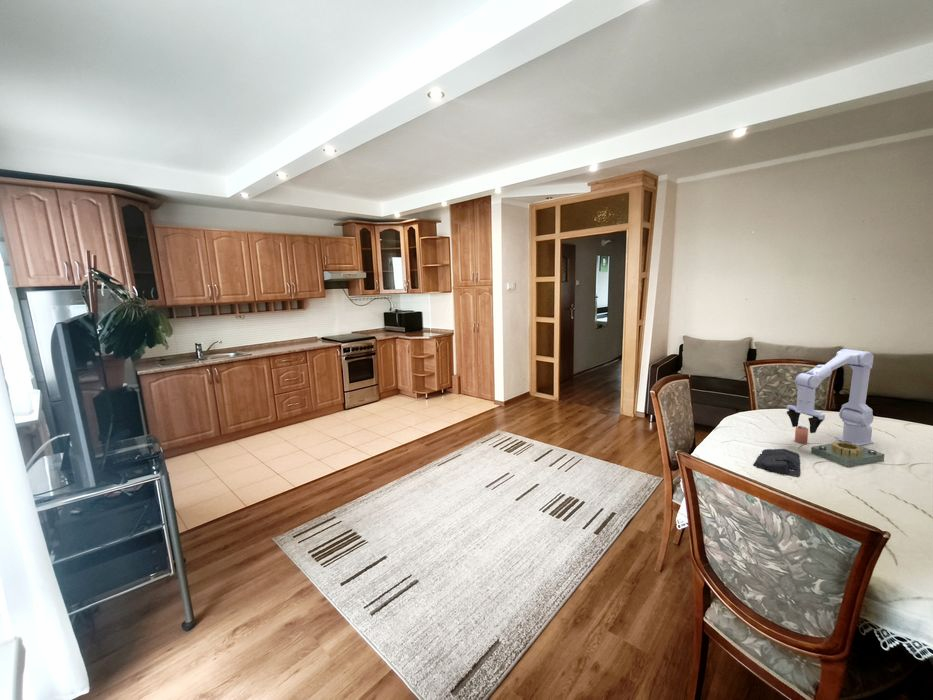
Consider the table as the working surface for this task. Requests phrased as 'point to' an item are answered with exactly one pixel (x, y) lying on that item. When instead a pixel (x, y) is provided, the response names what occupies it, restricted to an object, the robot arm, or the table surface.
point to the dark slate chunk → (779, 462)
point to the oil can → (801, 435)
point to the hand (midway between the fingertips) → (803, 429)
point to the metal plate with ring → (847, 454)
